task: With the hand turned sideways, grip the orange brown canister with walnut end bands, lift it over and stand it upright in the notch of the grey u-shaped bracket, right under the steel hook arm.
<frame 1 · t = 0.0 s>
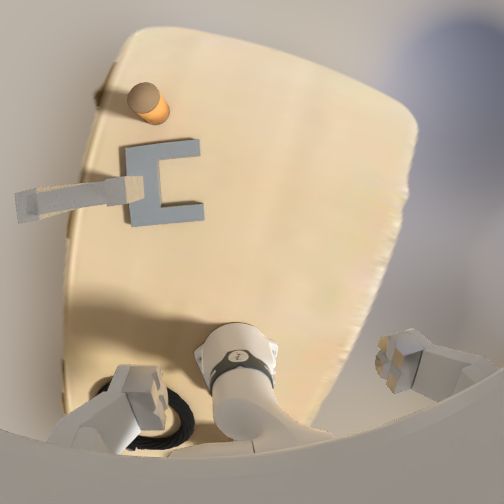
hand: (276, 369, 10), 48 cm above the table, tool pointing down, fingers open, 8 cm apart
orange brown canister: (156, 112, 49), on the table
grey u-shaped bracket: (165, 183, 53), on the table
cable lock: (143, 415, 67), on the table
hook stand: (120, 188, 52), on the table
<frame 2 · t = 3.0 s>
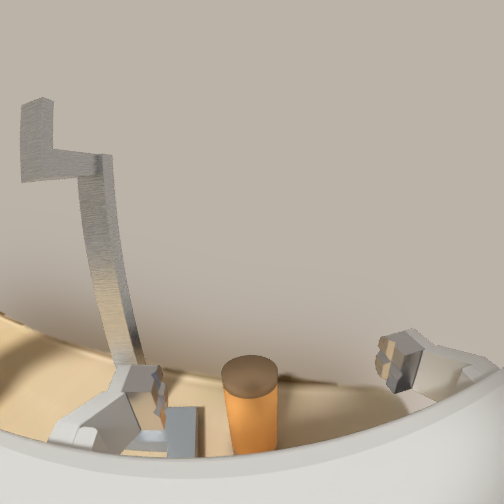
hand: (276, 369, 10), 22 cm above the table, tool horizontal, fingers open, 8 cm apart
orange brown canister: (255, 447, 28), on the table
grey u-shaped bracket: (134, 456, 26), on the table
hook stand: (145, 407, 34), on the table
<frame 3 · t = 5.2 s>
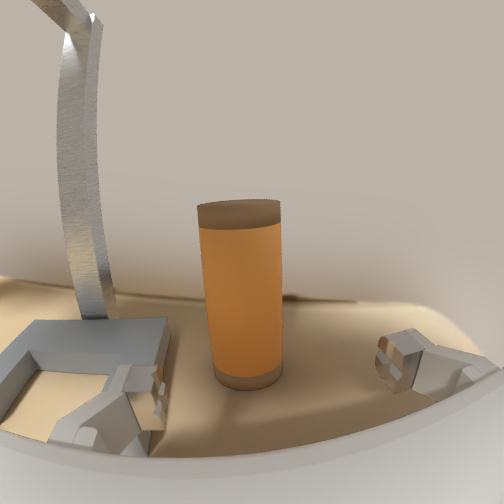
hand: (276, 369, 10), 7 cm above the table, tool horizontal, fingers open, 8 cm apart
orange brown canister: (248, 369, 21), on the table
grey u-shaped bracket: (72, 380, 18), on the table
hook stand: (104, 328, 27), on the table
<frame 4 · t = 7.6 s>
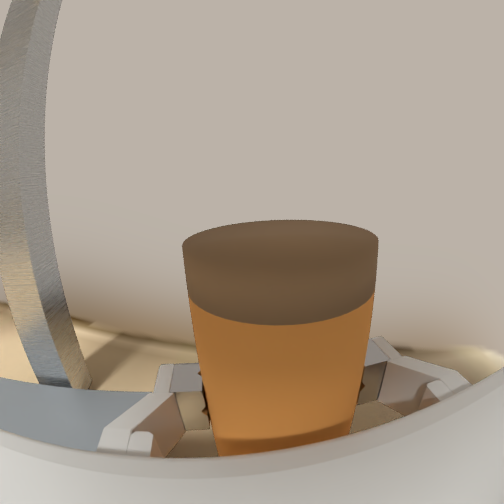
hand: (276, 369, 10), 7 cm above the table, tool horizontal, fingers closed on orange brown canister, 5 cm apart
orange brown canister: (280, 484, 11), on the table, touching gripper
grey u-shaped bracket: (27, 479, 8), on the table
hook stand: (70, 390, 17), on the table
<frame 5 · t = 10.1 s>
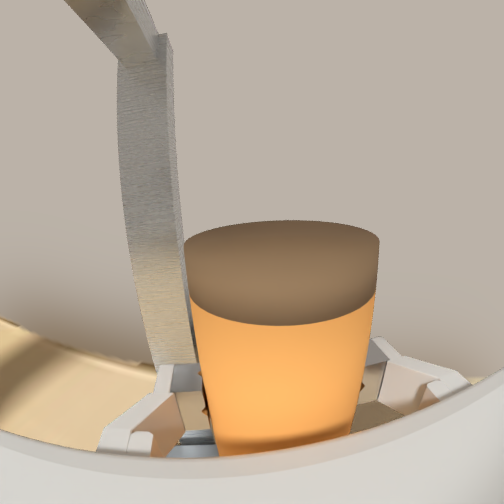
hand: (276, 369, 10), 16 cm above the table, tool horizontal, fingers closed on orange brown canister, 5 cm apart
orange brown canister: (280, 484, 11), point 9 cm above the table, touching gripper
hook stand: (200, 441, 23), on the table
when the fingers open (8 cm above the table, at t = 12.8 s): orange brown canister drops 1 cm, on the table.
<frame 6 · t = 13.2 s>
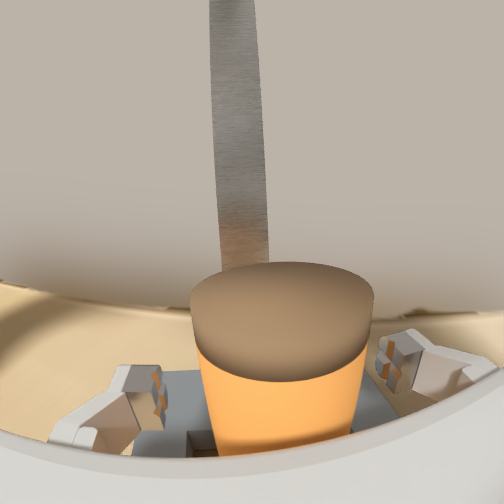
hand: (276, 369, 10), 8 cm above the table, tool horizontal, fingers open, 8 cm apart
orange brown canister: (280, 496, 11), on the table
grey u-shaped bracket: (269, 455, 14), on the table
hook stand: (250, 370, 23), on the table
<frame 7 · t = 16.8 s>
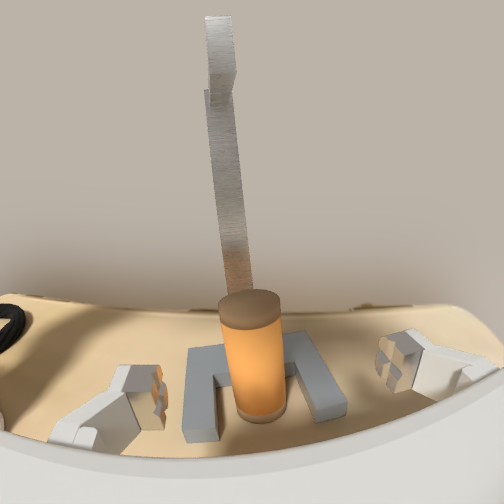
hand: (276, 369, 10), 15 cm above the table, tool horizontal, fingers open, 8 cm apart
orange brown canister: (261, 406, 27), on the table
grey u-shaped bracket: (257, 387, 30), on the table
hook stand: (247, 345, 38), on the table
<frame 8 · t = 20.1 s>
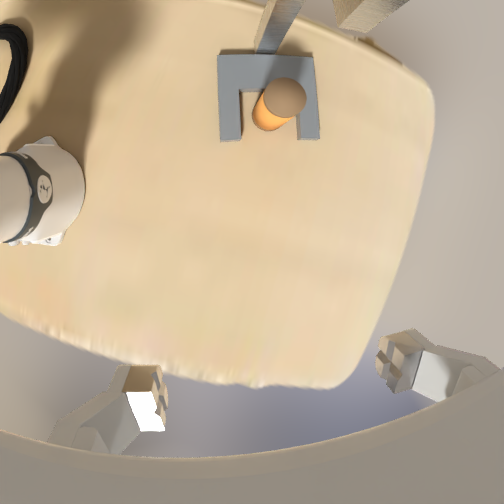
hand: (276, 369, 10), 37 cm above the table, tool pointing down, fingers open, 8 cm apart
orange brown canister: (268, 115, 42), on the table
grey u-shaped bracket: (266, 97, 41), on the table
hook stand: (263, 49, 39), on the table
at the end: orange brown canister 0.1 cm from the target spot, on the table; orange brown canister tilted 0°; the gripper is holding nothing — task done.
